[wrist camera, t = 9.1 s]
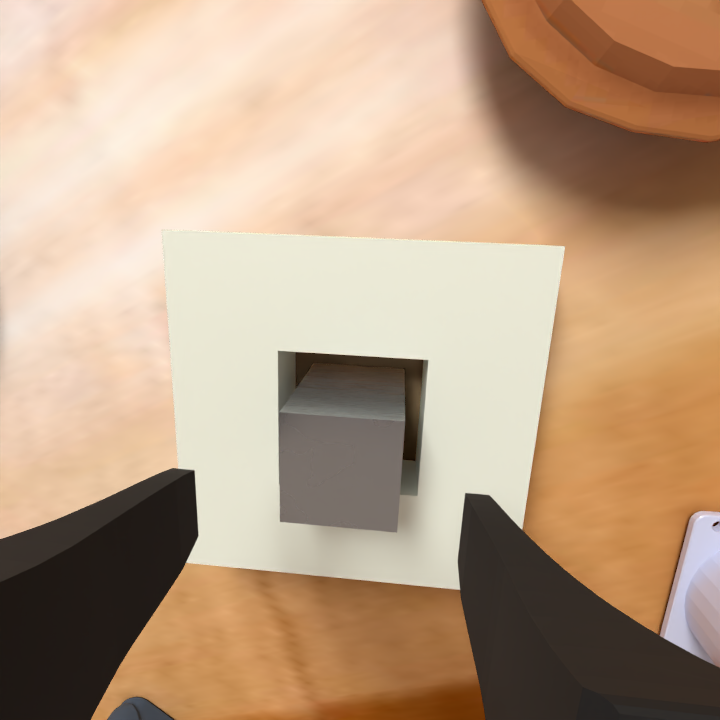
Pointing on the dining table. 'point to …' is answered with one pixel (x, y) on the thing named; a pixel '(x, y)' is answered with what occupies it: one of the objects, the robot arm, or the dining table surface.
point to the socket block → (361, 338)
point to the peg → (343, 448)
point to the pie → (622, 59)
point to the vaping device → (138, 711)
